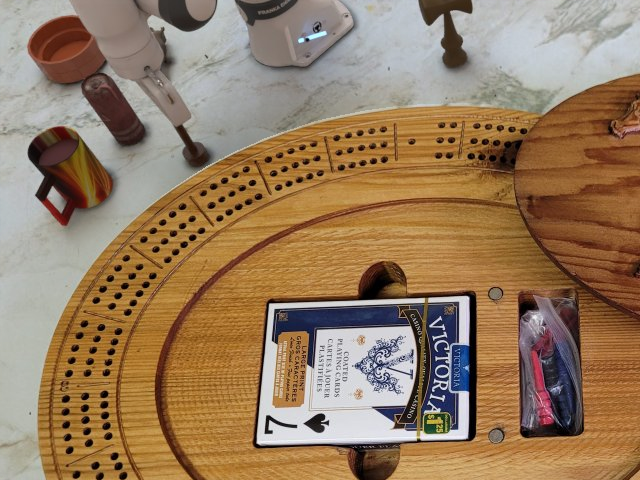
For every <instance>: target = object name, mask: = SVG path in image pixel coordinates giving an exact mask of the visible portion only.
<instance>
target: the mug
mask: <svg viewBox="0 0 640 480" xmlns="http://www.w3.org/2000/svg"><path fill="white" fill-rule="evenodd" d="M27 158H28V160H29V161H30V162H31V163H32V164H33V165H34V167H35V168H36V169H37V170H38V171H39V172H40V174H41V175H42V176H43V178H42V181H41V183H40V185H39V186H38V188H37V190H36V192H35V194H34V196H35V198H36V199H37V200H38V201H39V202H40V203H41V204H42V205H43V207H45V208H46V209H47V211H49V213H50V215H52V217H53V218H54V219H55V220H56V221H57V222H58V224H60V225H61V226H62V227H68V224H69V223H70V220H71V218H72V216H73V214H74V212H75V210H76V209H79V210H80V209H81V210H85V209H91V208H93V207H96V206H98V205H99V204H101V203H103V202H104V201H105V200H106V199H107V198H108V197H109V196H110V195H111V193H112V191H113V187H114V180H113V177H112V176H111V174H110V173H109V172H108V170H107V169H106V168H105V166H104V165H103V164H102V162H101V161H100V160H99V158H98V157H97V156H96V155H95V153H94V152H93V151H92V149H91V148H90V147H89V146H88V145H87V143H86V142H85V140H83V138H82V137H81V135H80V134H79V133H78V132H77V131H76V130H75V129H74V128H73V127H70V126H65V125H59V126H58V125H57V126H53V127H49V128H47V129H45V130H43V131H41V132H40V133H38V134H37V135H36V136H35V137H34V138H33V139H32V140H31V142H30V143H29V145H28V147H27ZM52 188H53V189H54V190H55V191H56V192H57V193H58V195H60V196H61V197H62V199H63V200H64V201H65V205H64V207H63V209H62V211H60V210H58V208H57V207H56V206H55V205H54V204H53V203H52V202H51V200H49V198H48V196H49V194H50V192H51V190H52Z"/></svg>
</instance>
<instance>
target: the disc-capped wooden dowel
mask: <svg viewBox="0 0 640 480" xmlns="http://www.w3.org/2000/svg"><path fill="white" fill-rule="evenodd" d="M183 124H184V123H183ZM183 124H182V125H180V126H178V127H175V126H174V125H173V124H172V123H171V125H172V127H173V128H174V130H175V131H176V133H177V134H178V136H179V138H180V139H181V141H182V142H183V144H184V147H183V149H182V153H181V155H182V157H183V158H184V160H185V161H186V162H187V164H188V166H190V167H192V168H200V167H203V166H205V165H206V164H207V163H208V162H209V160H210V154H209V152H208V150H207V148H206V146H205V145H204V144H203V143H202V142H200V141H193V139H192V137H191V136H190V134H189V132H188V131H187V129H186V127H185V126H184V125H183Z"/></svg>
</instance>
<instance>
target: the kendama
mask: <svg viewBox="0 0 640 480" xmlns="http://www.w3.org/2000/svg"><path fill="white" fill-rule="evenodd" d="M417 2H418V7H419V11H420V13H421V16H422V17H421V18H422V19H423V21H424V24H425V25H426V26H428V27H431V26H432V25H433V24H434V23H435V22H436V21H437V20H438V19H439V18H440V17H441V16H443V37H442V38H441V40H440V43H439V44H440V46H441V47H442V49H443V50H444V52H443V54H442V57H441V60H442V63H443V64H444V65H445V66H446V67H448V68H457V67H461V66H463V65H464V64H465V63H466V62H467V61H468V54H467V52H466V51H465V50H464V49H463V47H462V46H463V44H464V38H463V36H462V35H461V34H459V33H458V32H457V28H456V26H455V23H454V20H453V17H452V13H451V12H454V11H458V12H462V13H465V14H468V15H472V14H473V10H474V6H473V5H474V4H473V1H472V0H417Z"/></svg>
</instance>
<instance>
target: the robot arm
mask: <svg viewBox="0 0 640 480" xmlns="http://www.w3.org/2000/svg"><path fill="white" fill-rule="evenodd" d="M68 1H69V3H70V4H71V7H72V8H73V10H74V12H75V15H77V16H78V17H79V19H80V20H81V22H82V23H83V25H84V27H85V28H86V29H87V31H88V32H89V33H90V34H91V35H93V36H94V37H95V39H96V41H97V44H98V47H99V49H100V51H101V52H102V54H103V55H104V57H105V58H106V59H105V61H106V62H107V63H108V64H109V65H108V66H110V68H111V69H112V71H113V72H114V74H115V75H116V76H117V77H119V78H121V79H123V80H129V81H130V82H134V83H135V84H137V85H138V87H140V89H141V90H142V91H143V93H144V94H145V95H146V96H147V97H148V98H149V99H150V101H152V103H153V104H154V105H155V106H156V107H157V109H159V111H160V112H161V113H162V114H163V115H164V116H165V117H166V119H167V120H168V121H169V122H170V123H171V125H172V124H173V125H174V126H175V127H178V126H180V125H182V124H184V123H186V122H188V121H190V120H191V119H192V112H191V111H190V109H189V107H188V106H187V104H186V102H185V101H184V100H183V98H182V96H181V95H180V93H179V92H178V89H177V88H176V87H175V86H174V84H173V83H172V82H171V80H169V78H167V76H165V74H164V73H163V72H162V70H161V71H160V68H161V69H162V64H163V63H162V61H163V58H164V54H163V50H162V48H161V47H160V45H159V43H158V41H157V40H156V38H155V36H154V34H153V32H152V31H151V29H150V27H151V26H150V25H149V24H148V19H149V18H150V17H151V16H153V17H156V18H158V19H160V20H162V21H164V22H165V23H166V24H169V25H170V26H172V27H174V28H176V29H178V30H179V31H181V32H185V33H192V32H195V31H198V30H200V29H202V28H204V27H205V26H206V25H207V24H208V23H209V22H210V21H211V20H212V19H213V17H214V15H215V13H216V12H217V7H218V0H68ZM234 3H235V4H234V5H235V6H236V8H237V11H238V13H239V15H240V17H241V19H242V20H243V21H244V23H245V26H246V27H245V29H246V31H247V33H248V38H249V44H250V45H249V46H250V52H251V55H252V57H253V58H254V59H255V60H256V61H257V62H258V63H260V64H263V65H265V66H268V67H277V68H278V67H288V66H294V67H302V68H305V67H309V65H311V64H312V63H313V62H314V61H315V60H317V59H318V58H319V57H320V56H321V55H322V54H324V53H325V52H326V51H327V50H328V49H330V48H331V47H332V46H333V45H335V43H337V42H338V41H339V40H340V39H341V38H343V37H344V35H346V34H347V33H348V32H349V31H350V30H351V29H352V28H354V24H355V23H354V19H353V16H352V14H351V12H350V11H349V9H348V8H347V7H346V6H345V4H343V3H342V2H341V1H340V0H234ZM161 63H162V64H161ZM173 125H172V126H173ZM174 126H173V127H174Z"/></svg>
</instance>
